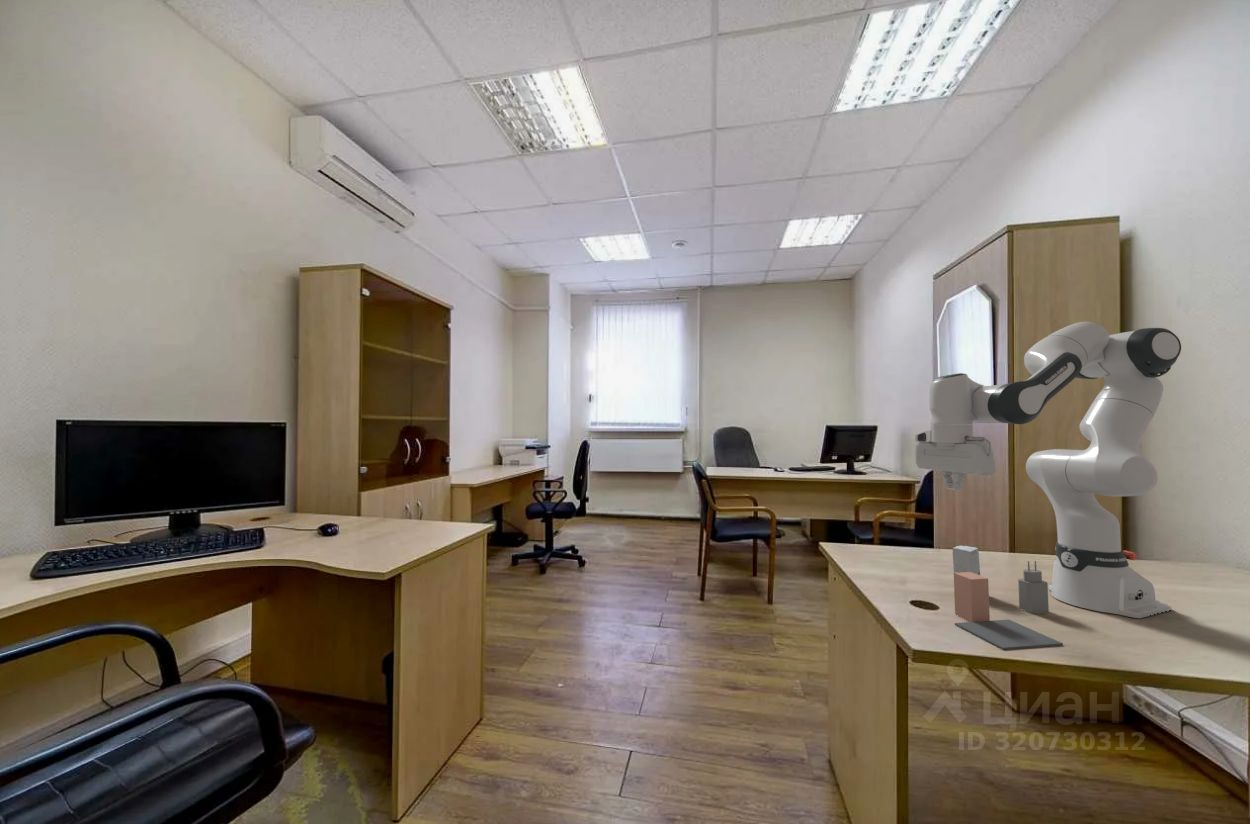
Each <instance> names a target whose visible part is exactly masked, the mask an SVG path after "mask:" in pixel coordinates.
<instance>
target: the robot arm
mask: <svg viewBox="0 0 1250 824" xmlns="http://www.w3.org/2000/svg"><path fill="white" fill-rule="evenodd" d="M1181 352H1182V343H1181V340H1180V338H1179V337H1178V336H1177V335H1176V334H1175V333H1174V332H1173V331H1171V330H1170V329H1167V328H1163V327H1146V328H1140V329H1136V330H1131V331H1125V332H1119V333H1114V334H1109V333H1108V330H1107V329H1106V328H1105V327H1104V326H1102V325H1101V324H1098V323H1096V322H1092V321H1079V322H1075V323H1073V324H1070V325H1067V326H1065V327H1062V328H1061V329H1058V330H1056V331H1054V332H1052V333H1050V334H1049V335H1047V336H1045V337H1044V338H1042V339H1040V340H1039V341H1037V342H1036V343H1035V344H1033V346H1031V347H1030V348H1029V349H1028V350H1027V351H1026V352H1025V354H1024V357H1023V364H1024V367H1025V370H1027V373H1029V374H1030V375H1031V376H1030V377H1028V378H1027V379H1025V380H1021V381H1015V382H1008V383H1004V384H1003V383H1002V384H995V385H994V384H992V385H984V384H981V383H978V382H976V381H974V380H972V379H971V378H970V377H969V375H968V374H967V373H963V372H962V373H961V372H960V373H953V374H947V375H941V376H937V377H936V378H934V379H933V380H932V382H931V383H930V388H929V399H928V400H929V401H928V402H929V411H930V414H931V420H930V423H929V426H930V428H928V429H927V430H924V431H921V432H918V433H917V434H915V435H914V436H915V437H914V440H915V442H916V443H917V444H916V445H915V454H914V455H915V464H916V466H917V467H918V469H922V470H923V469H924V470H930V471H940V475H941V478H942V479H943V481H944V482H945V483H944V484H945V486H944V487H945V488H946V489H947V490H953V491H961V490H962V484H963V482H964V480H965V479H966V474H967V475H974V476H975V475H976V476H993V475H994V474H995V473H996V470H997V469H996V462H995V461H996V460H995V456H994V452H993V449H992V443H991V441H989V440H988V439H987V438H986V437H984V436H974V427H973V426H974V425H973V424H1012V425H1024V424H1028V423H1031V422H1032V421H1034V420H1036V418H1037V417H1038V416H1039V415H1040V414H1041V412H1042V411H1043V409H1044V408H1045V406H1046V404H1048V402H1049V401H1051V399H1052V398H1053V397H1054V396H1057V394H1058V393H1059V392H1061V390H1063V389H1064V388H1065V387H1066V386H1068V385H1069V384H1070V383H1071V382H1072V381H1074V379H1076V378H1077V379H1083V380H1095V379H1098V378H1099V379H1100V378H1101V379H1102V378H1104V385H1103V388H1102V389H1101V390H1100V391H1099V393H1098V394H1097V396H1096V397H1095V398H1094V400H1093V401H1092V402H1091V404H1090V406H1089V408H1088V410H1087V411H1086V413H1085V414H1084V416H1083V417H1082V419H1081V421H1080V423H1079V426H1078V427H1079V430H1080V433H1081V435H1082V436H1083V437H1084V438H1085V439H1086V440H1088V441H1089V442H1090V444H1089V446H1087V448H1086V449H1069V448H1068V449H1064V448H1053V449H1052V448H1051V449H1046V450H1040V451H1039V450H1038V451H1034V453H1033V452H1032V454H1030V456H1029V457H1028V458H1027V460H1026V462H1025V472H1026V474H1027V476H1028V478H1029V479H1030V480H1031V481H1032V482H1034V484H1036V485H1037V486H1039V488H1041V490H1042V491H1043V493H1045V494H1046V496H1047V499H1048V500H1049V502H1050V504H1051V505H1052V508H1053V510H1054V511H1053V512H1054V515H1055V521H1056V522H1055V523H1056V534H1057V541H1056V542H1055V546H1054V548H1055V549H1054V550H1055V556H1056V557H1057V559H1055V561H1054V562H1053V569H1052V580H1051V581H1052V582H1051V584H1049V585H1048V591H1049V590H1050V591H1051V592H1050V593H1051V596H1052V597H1053V598H1055V599H1056V600H1058V601H1061V602H1062V603H1063V602H1064V603H1065V604H1069V605H1072V606H1075V607H1078V608H1083V609H1088V610H1091V611H1096V612H1101V613H1108V614H1114V615H1120V616H1124V617H1128V618H1129V617H1130V618H1134V619H1142V618H1145V617H1150V615H1151V616H1154V614H1155V615H1158V614H1157V613H1159V614H1162V613H1161V612H1163V613H1166V612H1165V611H1167V612H1170V611H1169V610H1171V611H1172V606H1171V605H1169V604H1168V603H1165V602H1163V601H1160V600H1157V599H1156V591H1155V587H1154V585H1153V583H1152V582H1151V581H1150V580H1148V579H1147V578H1145V577H1144V576H1143V575H1141V574H1140V573H1139V572H1137V571H1136V570H1134V569H1133V568H1132V567H1130V566H1129V561H1128V560H1131V561H1136V560H1137V558H1138V554H1137V553H1136V552H1133V551H1128V550H1122V547H1121V546H1122V545H1121V542H1122V541H1121V524H1120V521H1119V519H1118V518H1117V516H1116V515H1115V514H1113V513H1112V512H1110V511H1109V510H1107V509H1106V508H1104V507H1103V506H1102V505H1101V504H1100V503H1099V501H1098V500H1097V499H1096V496H1095V495H1102V496H1108V497H1140V496H1145V495H1147V494H1149V493H1150V492H1151V491H1152V490H1153V489H1154V488H1155V486H1156V485H1157V482H1158V479H1159V478H1158V477H1159V476H1158V471H1157V469H1156V467H1155V466H1154V464H1153V463H1152V462H1151V461H1150V460H1149V459H1148V458H1146V457H1145V456H1144V455H1143V454H1142V452H1141V447H1140V446H1141V441H1142V438H1143V436H1144V434H1145V432H1146V431H1147V429H1148V427H1149V425H1150V423H1151V421H1152V419H1153V418H1154V416H1155V414H1156V413H1157V411H1158V408H1159V405H1160V403H1161V401H1162V400H1161V399H1162V396H1163V392H1164V385H1163V383H1162V380H1160V379H1159V377H1161V376H1163V375H1165V374H1167V373H1169V371H1170V370H1171V367H1172V366H1173V365H1174V364H1175V363H1176V362H1177V360H1178V358H1179V356H1180V354H1181ZM952 477H954V479H953V478H952Z"/></svg>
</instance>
